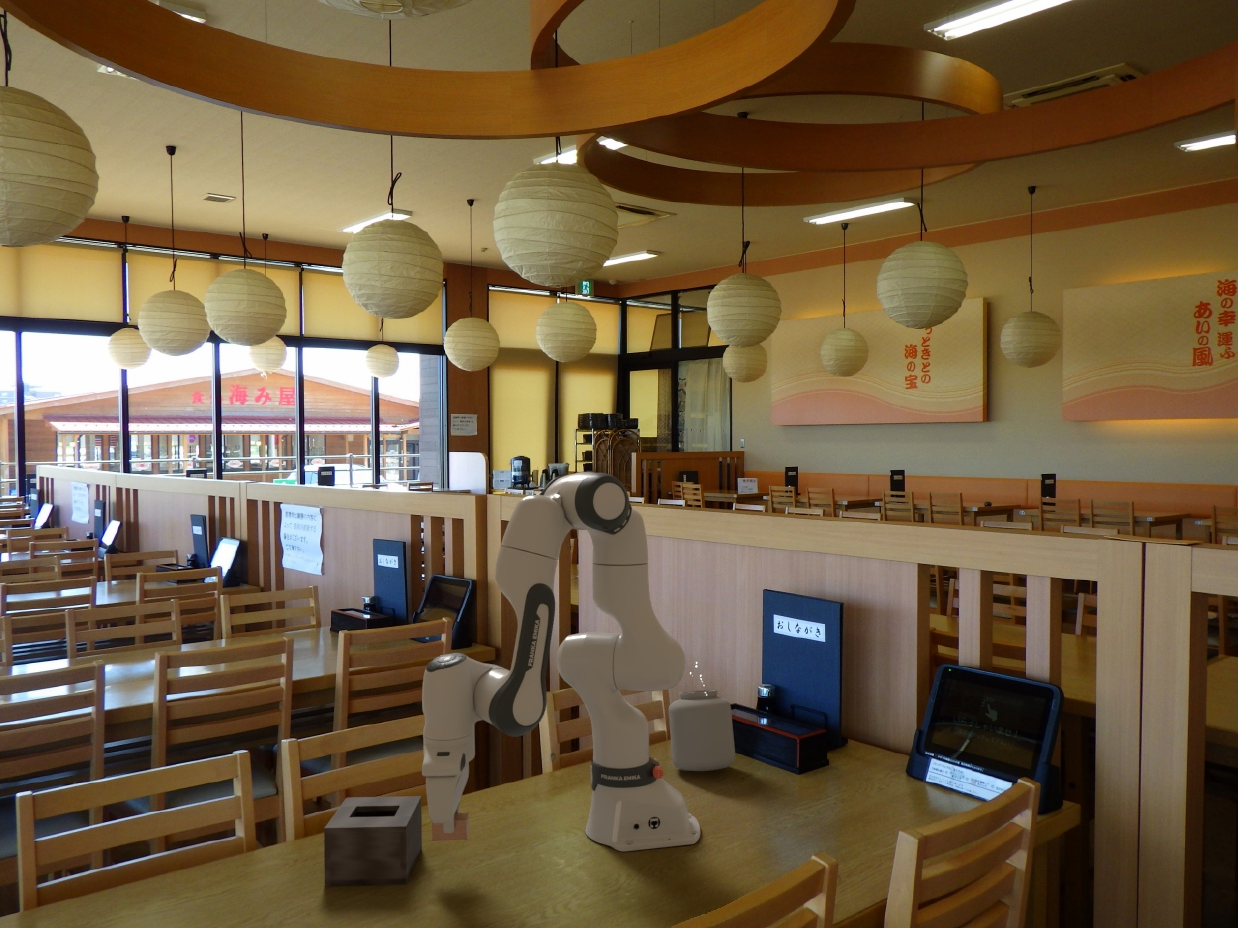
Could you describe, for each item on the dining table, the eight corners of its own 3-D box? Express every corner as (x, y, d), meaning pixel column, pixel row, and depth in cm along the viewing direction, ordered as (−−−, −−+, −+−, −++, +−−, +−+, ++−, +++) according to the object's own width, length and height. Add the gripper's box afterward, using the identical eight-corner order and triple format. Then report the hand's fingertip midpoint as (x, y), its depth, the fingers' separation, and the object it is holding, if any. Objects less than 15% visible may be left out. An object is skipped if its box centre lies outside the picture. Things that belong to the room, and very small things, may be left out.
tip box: (421, 848, 167) (421, 795, 167) (406, 883, 153) (406, 826, 153) (346, 850, 166) (346, 797, 166) (324, 885, 152) (324, 827, 152)
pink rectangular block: (469, 831, 157) (468, 812, 157) (466, 839, 154) (466, 819, 154) (435, 832, 157) (435, 813, 157) (432, 840, 154) (431, 820, 154)
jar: (657, 759, 217) (656, 657, 217) (713, 753, 221) (712, 653, 221) (686, 785, 199) (685, 674, 199) (745, 778, 203) (745, 669, 203)
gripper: (442, 728, 166) (444, 801, 166) (419, 770, 145) (422, 853, 146) (475, 727, 166) (477, 800, 166) (458, 769, 145) (460, 852, 146)
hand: (451, 825), depth 156 cm, fingers closed on pink rectangular block, 3 cm apart
